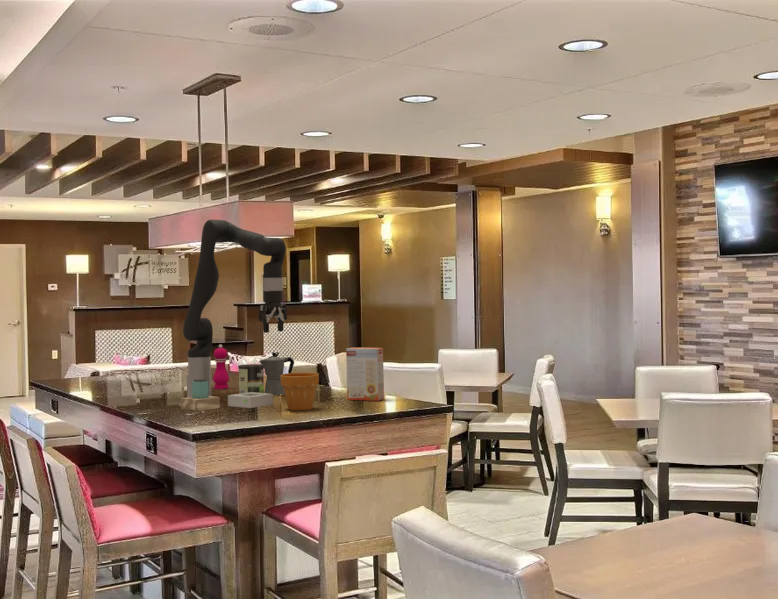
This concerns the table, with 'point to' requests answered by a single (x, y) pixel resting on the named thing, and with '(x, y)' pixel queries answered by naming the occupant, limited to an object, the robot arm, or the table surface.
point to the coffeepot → (275, 373)
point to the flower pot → (300, 389)
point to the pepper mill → (220, 369)
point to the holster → (200, 403)
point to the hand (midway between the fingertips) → (273, 332)
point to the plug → (200, 388)
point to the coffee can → (251, 378)
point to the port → (250, 400)
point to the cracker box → (365, 374)
